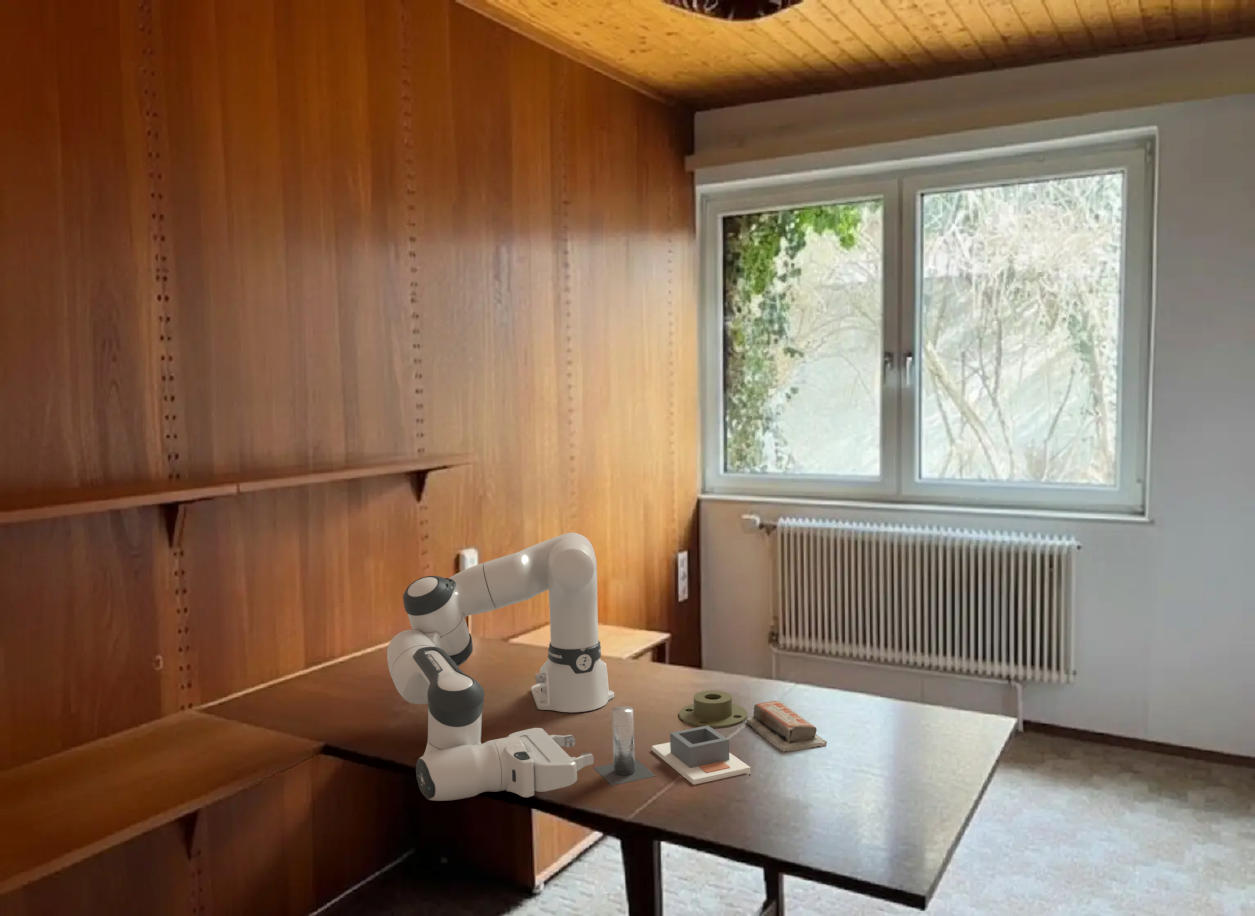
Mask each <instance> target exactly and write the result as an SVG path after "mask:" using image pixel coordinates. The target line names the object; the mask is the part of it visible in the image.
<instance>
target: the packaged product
mask: <svg viewBox="0 0 1255 916" xmlns="http://www.w3.org/2000/svg"><path fill="white" fill-rule="evenodd" d="M753 710H754V711H753V713H752V714H753V716H751V717H750V716H747V719H746V723H747V724H748V725H749V726H750V725H751V726H750V727H752V728H753V729H754V730H755V731H756V732H757V733H758V734H759V735H760V736H762V737H763V738H764V737H765V738H766V739H765V738H764V739H765V740H766V741H768V742H769V743H770V742H771V743H770V744H771V745H773V746H774V747H775V748H777V749H778V750H780V751H781V752H782V751H783V752H782V753H786V752H785V751H788V752H795V751H800V750H799V749H801V750H806V749H805V748H808V749H812V748H811V747H814V748H818V747H817V746H821V747H824V746H825V745H826V746H827V744H828V741H826V740H825V739H824V738H823V737H822V736H819V735H818V734H817V731H818V730H817V727H816V726H815V725H813V724H812V723H811V722H809V721H808V720H807V719H806V718H804V717H803V716H801V715H799V713H796V711H795V710H793V709H792V708H790V707H789V706H787V704H785V703H784V702H781V701H778V700H771V701H765V702H759V703H755V704H754V707H753ZM794 750H795V751H794Z"/></svg>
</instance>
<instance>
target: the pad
mask: <svg viewBox="0 0 1255 916" xmlns="http://www.w3.org/2000/svg"><path fill="white" fill-rule="evenodd" d="M593 769H594V771H596V772H598V773H599V775H600V776H601V777H602V778H603V779H605V780H604V781H607V783H608V784H609V785H610V786H611V787H613V786H617V785H622V784H626V783H630V782H635V781H639V780H644V779H645V780H646V779H650V778H654V777H656V776H657V775H656V774H655V773H653V772H652V771H651V770H650V769H649V767H646V765H645V764H643V763H642V762H641V761H639V759H637V758H635V773H634V774H632V775H629V776H619V775H616V774H615V773H614V762H613V763H610V764H609V763H608V764H603V765H599V766H594V767H593Z"/></svg>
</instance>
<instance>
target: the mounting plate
mask: <svg viewBox="0 0 1255 916" xmlns="http://www.w3.org/2000/svg"><path fill="white" fill-rule="evenodd" d="M669 739H670V740H669V742H663V743H660V744H653V745H651V751H652V752H653V753H654V754H656V755H657V756H658V757H659V758H661V759H662V760H663V761H664V762H665V763H667V764H668V765H669V766H670V767H671V768H673V769H674V770H675V771H676V772H677V773H679V774H680V775H681V776H683V777H684V779H686V780H687V781H688V782H690V784H691V785H699V784H703V783H708V782H711V781H718V780H721V779H726V778H731V777H734V776H740V775H744V774H746V775H748V776H750V775H749V774H752V772H751V770H752V769H751V768H752V767H751V766H749V765H748V764H747V763H745V762H743V761H742V760H741V759H739V758H738V757H736V756H735V755H733V754H732V753H731V752H730V739H729V738H727V736H724V735H723V734H722V733H720V732H718V731H717V730H715V728H711V727H710V726H708V725H707V726H702V727H697V726H696V727H693V728H687V729H683V730H678V731H672V732H670V733H669Z"/></svg>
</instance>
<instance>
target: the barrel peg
mask: <svg viewBox="0 0 1255 916" xmlns="http://www.w3.org/2000/svg"><path fill="white" fill-rule="evenodd" d="M611 718H612V719H611V721H612V724H611V725H612V751H613V752H612V754H613V755H612V756H613V763H614V773H615V774H616V775H619V776H629V775H632V774H634V773H635V759H636V758H635V756H636V755H635V724H634V723H635V722H634V708H633V707H631V706H628V705H627V706H626V705H620V706H616V707H613V708H612V709H611Z"/></svg>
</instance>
